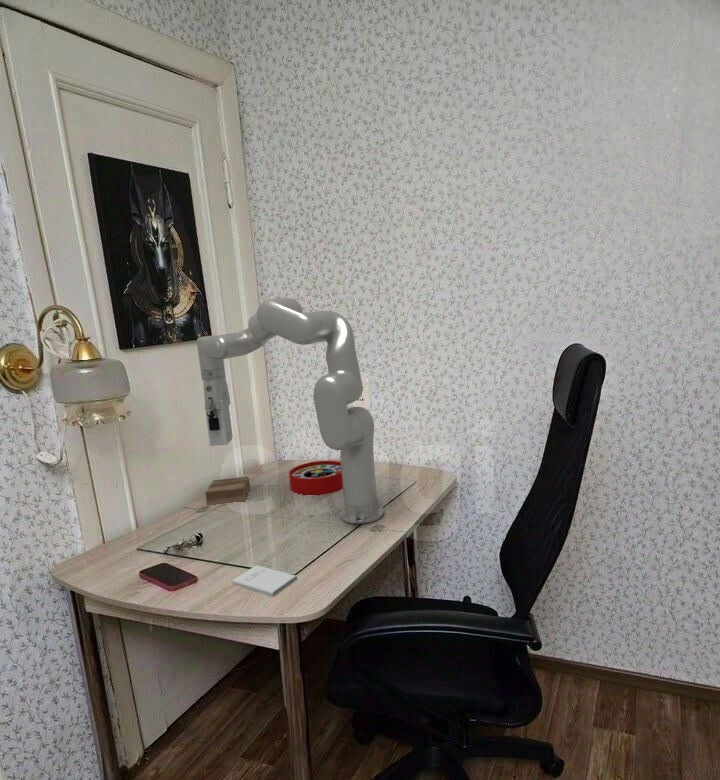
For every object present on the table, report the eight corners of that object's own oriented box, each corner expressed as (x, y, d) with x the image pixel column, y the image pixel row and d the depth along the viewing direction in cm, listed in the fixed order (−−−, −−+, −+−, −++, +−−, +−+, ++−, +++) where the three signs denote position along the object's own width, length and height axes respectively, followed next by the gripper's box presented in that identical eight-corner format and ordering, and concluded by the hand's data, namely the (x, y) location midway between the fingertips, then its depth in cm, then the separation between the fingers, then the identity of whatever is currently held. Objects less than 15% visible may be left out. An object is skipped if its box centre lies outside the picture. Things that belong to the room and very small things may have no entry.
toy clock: (298, 461, 195) (352, 459, 192) (300, 476, 196) (353, 475, 193) (280, 480, 176) (340, 478, 172) (282, 497, 177) (342, 495, 173)
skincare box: (216, 440, 181) (210, 396, 179) (234, 438, 181) (228, 395, 179) (209, 446, 173) (203, 401, 171) (228, 445, 173) (221, 399, 170)
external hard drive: (273, 599, 116) (232, 586, 122) (297, 581, 122) (258, 570, 129) (272, 592, 115) (231, 579, 122) (297, 575, 122) (257, 563, 129)
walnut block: (244, 503, 174) (242, 488, 174) (207, 507, 174) (205, 492, 173) (250, 490, 186) (248, 476, 185) (215, 494, 186) (213, 480, 185)
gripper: (214, 377, 164) (221, 432, 167) (234, 369, 181) (240, 420, 184) (190, 379, 165) (198, 434, 168) (212, 371, 182) (219, 421, 185)
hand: (220, 426), depth 176 cm, fingers closed on skincare box, 8 cm apart
